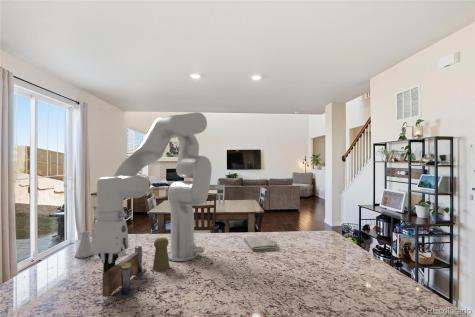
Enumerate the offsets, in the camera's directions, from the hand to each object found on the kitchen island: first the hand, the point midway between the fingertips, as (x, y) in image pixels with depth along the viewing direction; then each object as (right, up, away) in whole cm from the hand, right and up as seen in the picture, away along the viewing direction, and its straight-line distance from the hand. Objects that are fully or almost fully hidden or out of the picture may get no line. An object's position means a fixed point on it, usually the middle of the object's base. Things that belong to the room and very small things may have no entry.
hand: (109, 274), depth 79 cm
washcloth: (+51, -6, +41) cm, 65 cm away
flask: (-25, -5, +28) cm, 38 cm away
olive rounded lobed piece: (+12, -5, +15) cm, 20 cm away
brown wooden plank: (+3, -3, +2) cm, 5 cm away
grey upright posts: (+6, -4, +4) cm, 8 cm away
